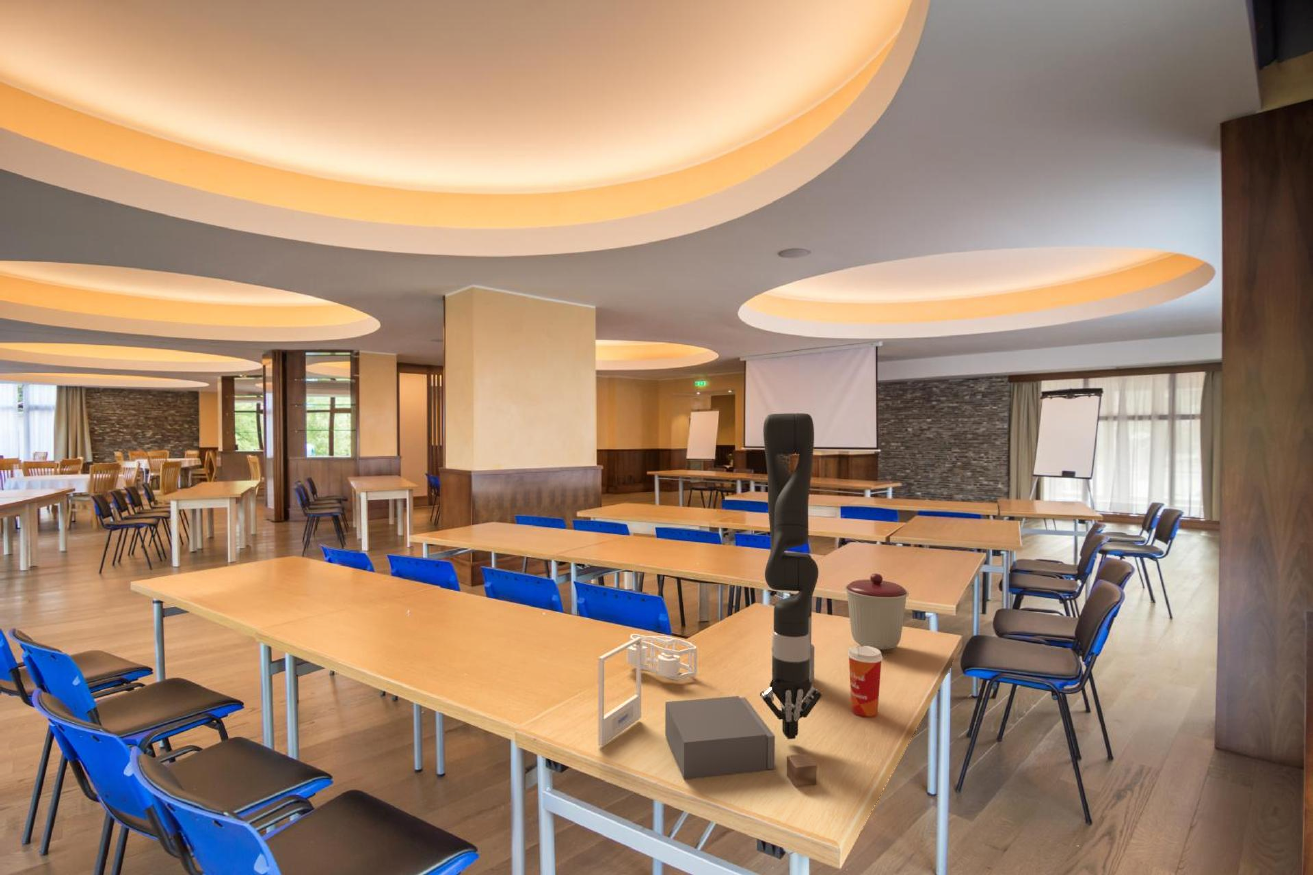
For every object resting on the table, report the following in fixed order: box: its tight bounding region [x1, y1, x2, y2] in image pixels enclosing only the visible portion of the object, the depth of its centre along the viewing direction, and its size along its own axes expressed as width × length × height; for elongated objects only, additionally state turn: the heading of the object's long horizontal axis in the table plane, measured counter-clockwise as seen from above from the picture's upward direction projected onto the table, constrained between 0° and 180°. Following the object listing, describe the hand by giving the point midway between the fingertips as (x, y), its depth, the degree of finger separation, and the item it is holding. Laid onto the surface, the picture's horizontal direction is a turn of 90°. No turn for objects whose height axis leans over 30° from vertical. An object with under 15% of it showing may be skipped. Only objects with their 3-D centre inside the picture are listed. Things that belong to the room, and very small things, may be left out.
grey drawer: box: [739, 697, 776, 770], centre depth 125 cm, size 15×17×6 cm
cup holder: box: [626, 633, 698, 681], centre depth 166 cm, size 20×11×7 cm, turn 49°
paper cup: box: [846, 645, 884, 718], centre depth 142 cm, size 8×8×14 cm
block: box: [786, 753, 818, 788], centre depth 114 cm, size 4×4×4 cm
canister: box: [844, 573, 910, 651], centre depth 186 cm, size 18×18×21 cm
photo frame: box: [597, 637, 642, 747], centre depth 133 cm, size 15×1×18 cm, turn 149°
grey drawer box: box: [664, 695, 768, 781], centre depth 124 cm, size 16×17×7 cm
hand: (790, 737), depth 128 cm, fingers closed
